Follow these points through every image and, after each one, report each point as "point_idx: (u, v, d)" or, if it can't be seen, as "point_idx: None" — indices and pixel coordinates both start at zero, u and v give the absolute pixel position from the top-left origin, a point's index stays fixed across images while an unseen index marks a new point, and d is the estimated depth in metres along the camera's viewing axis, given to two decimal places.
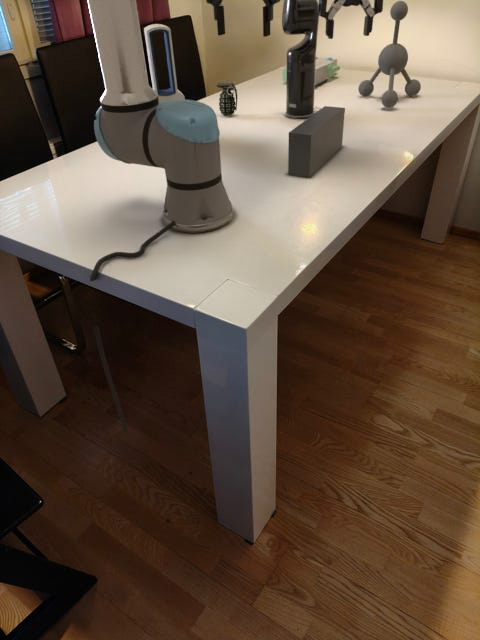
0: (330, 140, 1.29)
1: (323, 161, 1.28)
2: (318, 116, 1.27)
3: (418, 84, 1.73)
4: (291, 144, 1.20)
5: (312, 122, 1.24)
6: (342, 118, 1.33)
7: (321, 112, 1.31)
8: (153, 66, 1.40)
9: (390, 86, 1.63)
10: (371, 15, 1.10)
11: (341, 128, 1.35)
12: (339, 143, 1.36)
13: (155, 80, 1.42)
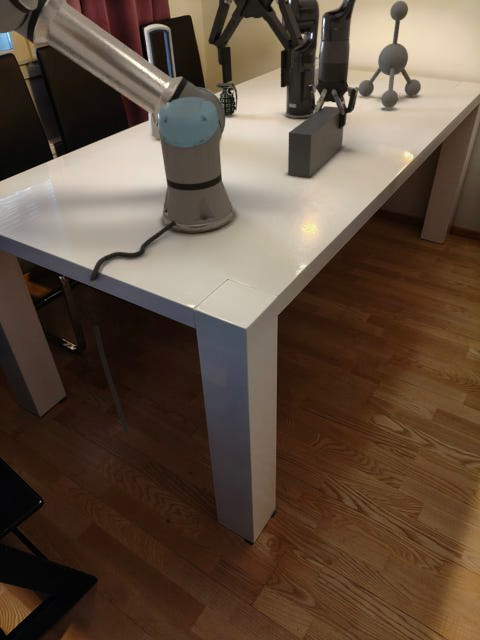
0: (330, 140, 1.29)
1: (323, 161, 1.29)
2: (318, 116, 1.27)
3: (418, 84, 1.73)
4: (291, 144, 1.20)
5: (312, 122, 1.24)
6: None
7: (321, 112, 1.31)
8: None
9: (390, 86, 1.63)
10: (341, 113, 1.30)
11: None
12: (339, 143, 1.36)
13: None
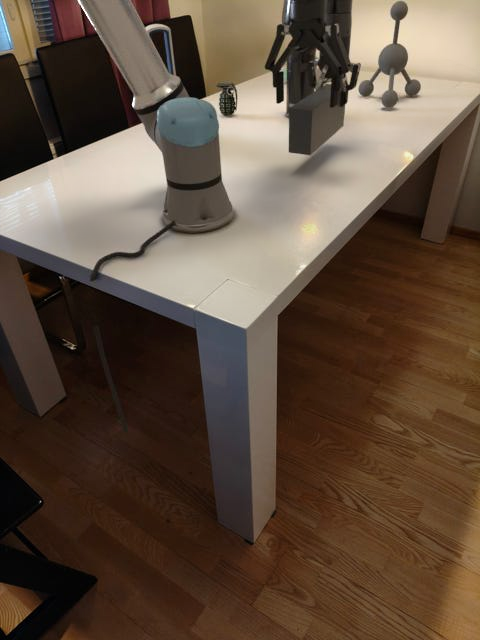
0: (332, 118, 1.26)
1: (324, 139, 1.25)
2: (319, 93, 1.24)
3: (418, 84, 1.73)
4: (292, 120, 1.16)
5: (313, 98, 1.20)
6: None
7: (322, 89, 1.27)
8: None
9: (390, 86, 1.63)
10: (343, 91, 1.26)
11: None
12: (340, 122, 1.33)
13: None
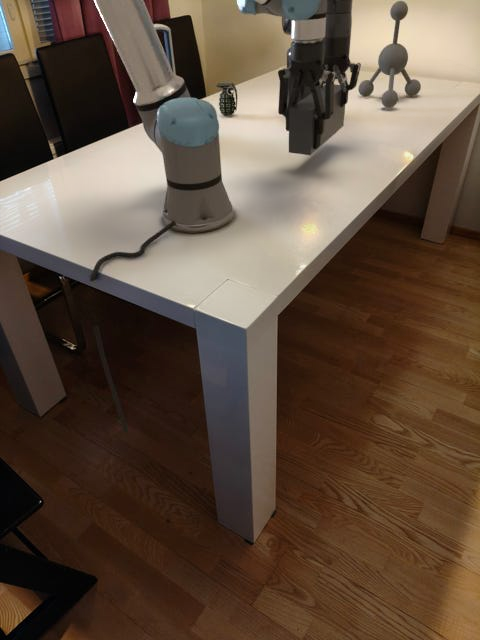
0: (332, 118, 1.26)
1: (324, 139, 1.25)
2: None
3: (418, 84, 1.73)
4: (292, 120, 1.16)
5: None
6: None
7: (322, 89, 1.27)
8: None
9: (390, 86, 1.63)
10: (343, 90, 1.26)
11: None
12: (340, 122, 1.33)
13: None
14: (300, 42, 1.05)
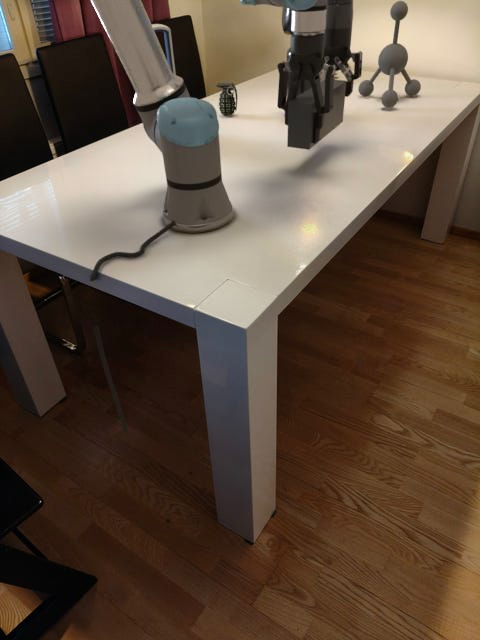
0: (331, 113, 1.25)
1: (323, 134, 1.24)
2: None
3: (418, 84, 1.73)
4: (291, 114, 1.15)
5: None
6: (343, 91, 1.29)
7: (321, 84, 1.26)
8: None
9: (390, 86, 1.63)
10: (348, 80, 1.25)
11: (342, 102, 1.30)
12: (340, 117, 1.32)
13: None
14: (300, 34, 1.05)
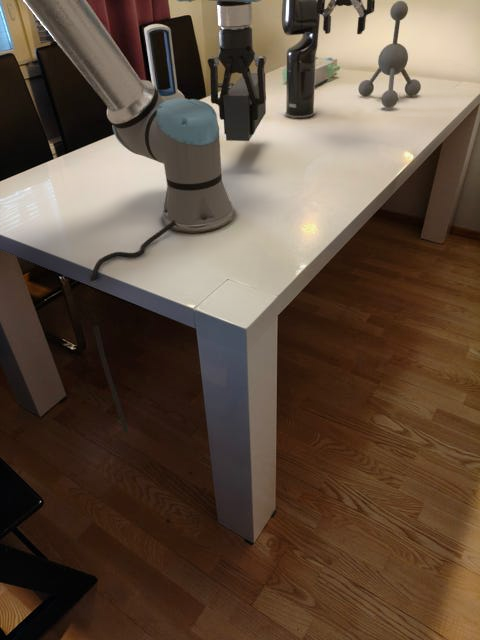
0: None
1: (256, 126, 1.28)
2: (244, 81, 1.26)
3: (418, 84, 1.73)
4: (227, 108, 1.17)
5: (242, 86, 1.22)
6: None
7: None
8: (153, 66, 1.40)
9: (390, 86, 1.63)
10: (361, 15, 1.20)
11: None
12: (264, 109, 1.36)
13: (155, 80, 1.42)
14: (230, 28, 1.07)
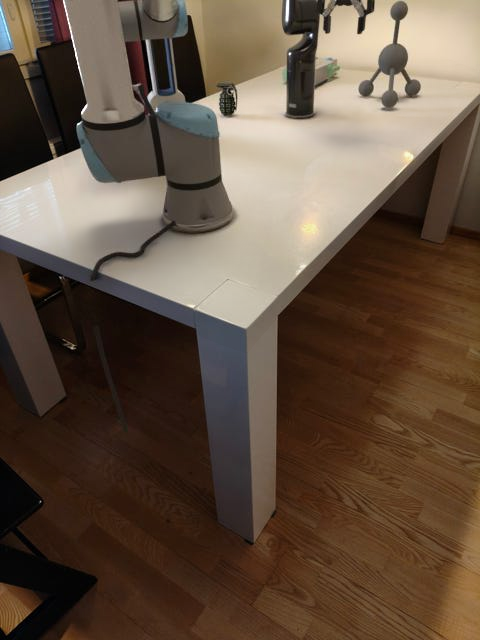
0: None
1: None
2: None
3: (418, 84, 1.73)
4: None
5: None
6: None
7: None
8: (153, 66, 1.40)
9: (390, 86, 1.63)
10: (361, 15, 1.20)
11: None
12: None
13: (155, 80, 1.42)
14: None
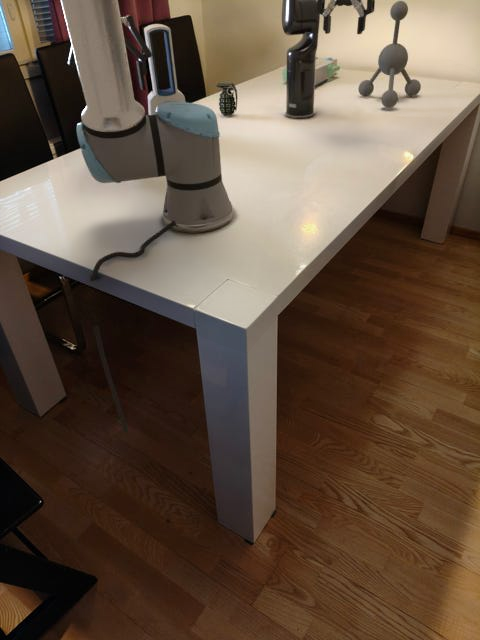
0: None
1: None
2: None
3: (418, 84, 1.73)
4: None
5: None
6: None
7: None
8: (153, 66, 1.40)
9: (390, 86, 1.63)
10: (361, 15, 1.20)
11: None
12: None
13: (155, 80, 1.42)
14: None
